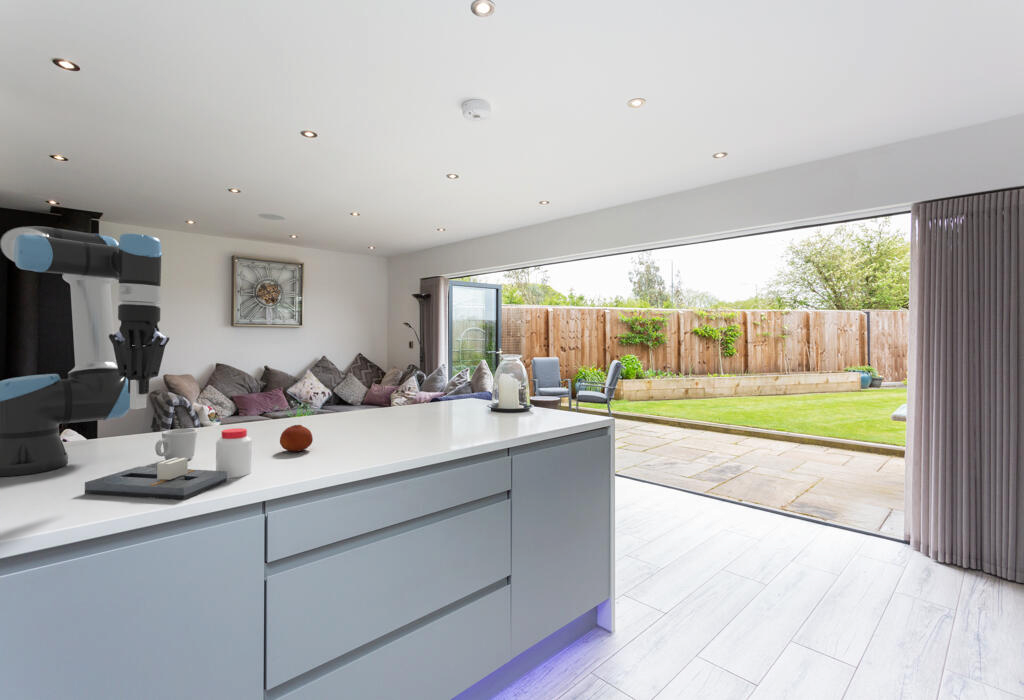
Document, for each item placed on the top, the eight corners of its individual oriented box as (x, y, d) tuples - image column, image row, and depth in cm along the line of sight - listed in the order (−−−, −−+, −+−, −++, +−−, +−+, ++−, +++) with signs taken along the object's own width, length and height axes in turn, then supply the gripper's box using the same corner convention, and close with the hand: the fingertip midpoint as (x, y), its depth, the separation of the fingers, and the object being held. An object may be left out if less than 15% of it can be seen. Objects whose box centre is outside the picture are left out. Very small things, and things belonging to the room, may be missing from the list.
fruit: (273, 453, 141) (273, 426, 140) (293, 447, 149) (293, 421, 149) (298, 455, 138) (299, 428, 138) (318, 449, 147) (318, 423, 147)
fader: (155, 485, 104) (155, 462, 104) (173, 478, 109) (173, 457, 109) (171, 486, 104) (171, 463, 104) (189, 479, 109) (189, 457, 109)
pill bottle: (257, 469, 123) (257, 427, 123) (241, 478, 115) (241, 433, 115) (226, 469, 123) (227, 427, 123) (208, 477, 115) (209, 432, 115)
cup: (169, 467, 123) (169, 436, 123) (144, 465, 125) (144, 434, 125) (203, 457, 134) (204, 429, 134) (180, 455, 135) (180, 427, 135)
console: (84, 494, 102) (84, 481, 102) (138, 476, 115) (138, 466, 115) (183, 500, 99) (184, 487, 99) (227, 481, 112) (227, 470, 112)
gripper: (97, 302, 104) (96, 409, 104) (152, 304, 102) (150, 412, 103) (128, 304, 111) (126, 404, 112) (179, 306, 110) (178, 407, 111)
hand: (138, 408), depth 107 cm, fingers closed
